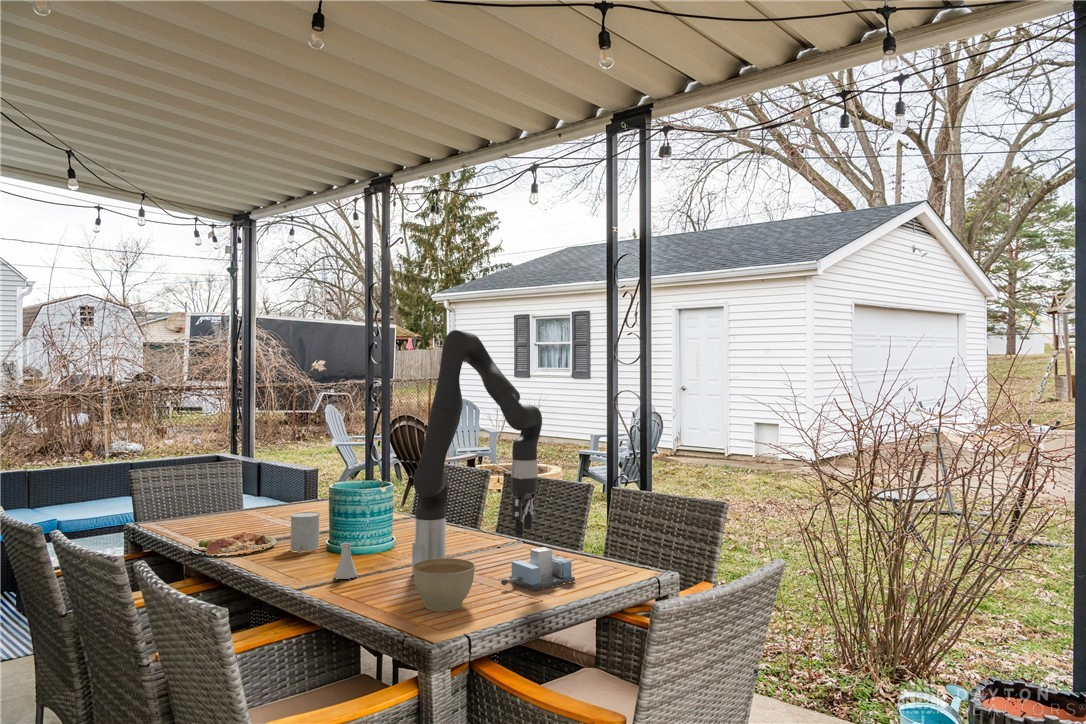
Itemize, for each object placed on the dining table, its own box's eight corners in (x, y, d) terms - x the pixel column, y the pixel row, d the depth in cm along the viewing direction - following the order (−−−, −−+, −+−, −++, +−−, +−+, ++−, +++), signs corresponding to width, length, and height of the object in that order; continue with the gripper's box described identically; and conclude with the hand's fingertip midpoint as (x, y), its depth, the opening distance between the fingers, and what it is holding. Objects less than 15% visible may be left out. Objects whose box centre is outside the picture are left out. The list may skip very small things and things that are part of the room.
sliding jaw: (511, 590, 199) (511, 572, 199) (491, 581, 207) (491, 565, 207) (541, 583, 205) (541, 566, 205) (521, 575, 213) (521, 559, 213)
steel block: (538, 579, 209) (538, 552, 209) (530, 576, 212) (530, 549, 212) (552, 577, 212) (552, 549, 212) (543, 574, 215) (543, 547, 215)
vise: (533, 591, 202) (533, 569, 203) (509, 581, 212) (509, 561, 212) (574, 582, 211) (574, 561, 212) (549, 573, 221) (550, 553, 221)
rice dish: (235, 565, 235) (236, 548, 235) (171, 554, 245) (172, 538, 245) (293, 546, 261) (293, 531, 261) (233, 537, 271) (233, 523, 271)
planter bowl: (448, 621, 177) (448, 576, 178) (399, 609, 186) (400, 567, 186) (487, 603, 191) (487, 562, 191) (440, 594, 200) (440, 554, 200)
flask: (335, 582, 211) (336, 547, 211) (330, 576, 218) (331, 542, 218) (360, 579, 214) (360, 545, 215) (355, 573, 221) (355, 540, 221)
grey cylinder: (284, 551, 248) (284, 515, 248) (303, 545, 257) (303, 511, 257) (306, 554, 244) (306, 517, 245) (325, 548, 253) (325, 513, 254)
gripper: (519, 471, 214) (518, 526, 214) (503, 477, 201) (503, 536, 200) (543, 472, 212) (543, 528, 212) (529, 479, 198) (528, 538, 198)
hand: (523, 532), depth 206 cm, fingers open, 8 cm apart
